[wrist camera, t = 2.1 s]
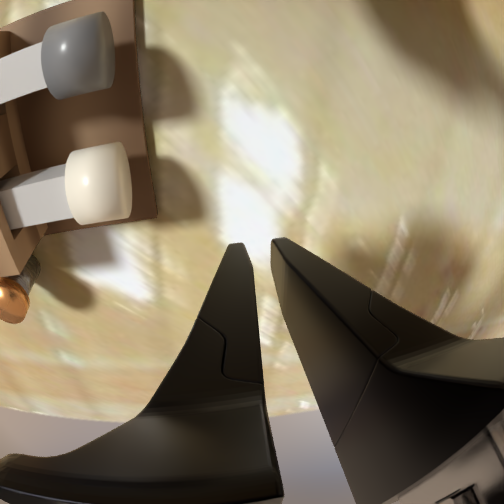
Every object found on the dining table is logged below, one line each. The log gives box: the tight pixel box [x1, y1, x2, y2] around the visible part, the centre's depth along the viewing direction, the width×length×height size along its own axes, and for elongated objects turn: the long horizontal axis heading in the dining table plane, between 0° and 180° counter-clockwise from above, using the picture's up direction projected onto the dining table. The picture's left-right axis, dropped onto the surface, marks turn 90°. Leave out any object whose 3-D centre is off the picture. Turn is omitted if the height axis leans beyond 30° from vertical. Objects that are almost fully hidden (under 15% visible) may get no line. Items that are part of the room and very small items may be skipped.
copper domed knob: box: [0, 255, 40, 324], centre depth 18 cm, size 3×3×4 cm
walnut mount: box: [0, 0, 158, 277], centre depth 13 cm, size 13×14×6 cm
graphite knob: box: [0, 11, 115, 104], centre depth 10 cm, size 9×4×4 cm, turn 92°
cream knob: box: [0, 142, 132, 230], centre depth 14 cm, size 9×4×4 cm, turn 92°
